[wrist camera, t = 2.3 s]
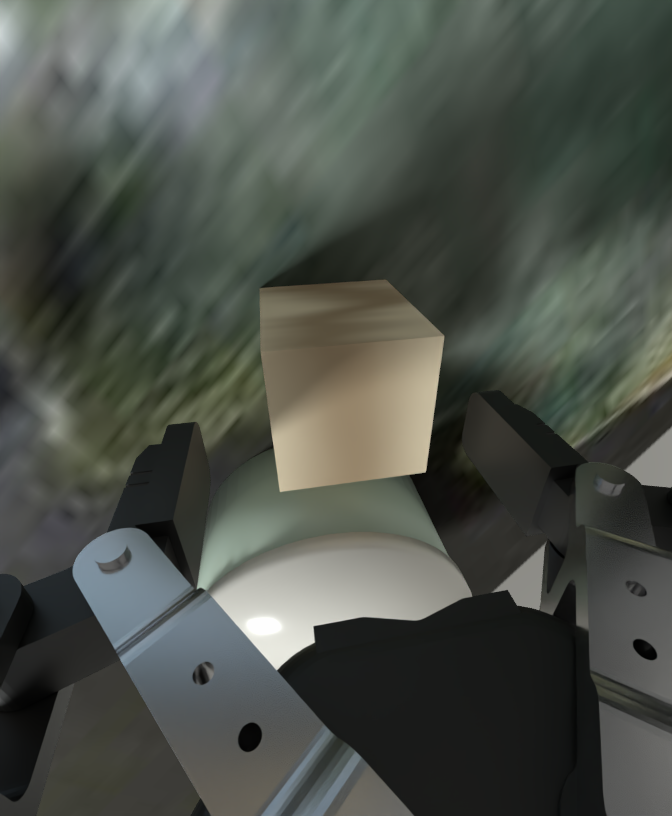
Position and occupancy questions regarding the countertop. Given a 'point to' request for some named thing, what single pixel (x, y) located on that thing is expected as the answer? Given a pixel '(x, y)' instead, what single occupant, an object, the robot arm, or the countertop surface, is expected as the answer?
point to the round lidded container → (321, 556)
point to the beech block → (347, 382)
